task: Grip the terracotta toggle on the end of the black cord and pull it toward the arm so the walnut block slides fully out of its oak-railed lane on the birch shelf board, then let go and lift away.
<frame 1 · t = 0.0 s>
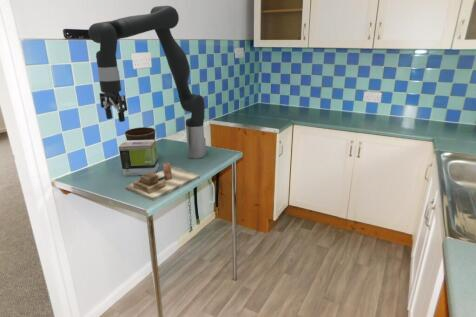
hand: (115, 120, 129), 29 cm above the table, fingers open, 8 cm apart
tea box: (141, 171, 154), on the table
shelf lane: (150, 189, 135), on the table
plant pot: (143, 160, 167), on the table
walnut block: (150, 186, 135), point 1 cm above the table, touching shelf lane
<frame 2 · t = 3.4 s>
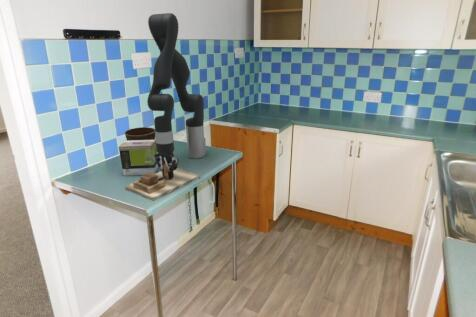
hand: (168, 177, 142), 2 cm above the table, fingers closed on walnut block, 3 cm apart
walnut block: (150, 186, 135), point 1 cm above the table, touching gripper, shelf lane
everything else where it was.
when the fingers open (2 cm above the table, at t = 6.8 s): walnut block stays where it is, resting on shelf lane.
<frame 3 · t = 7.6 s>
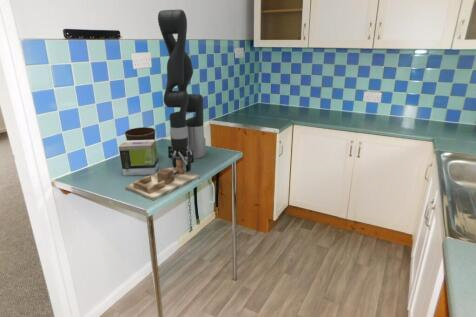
hand: (181, 169, 148), 3 cm above the table, fingers open, 8 cm apart
walnut block: (166, 181, 140), point 1 cm above the table, touching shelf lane
everything else where it was.
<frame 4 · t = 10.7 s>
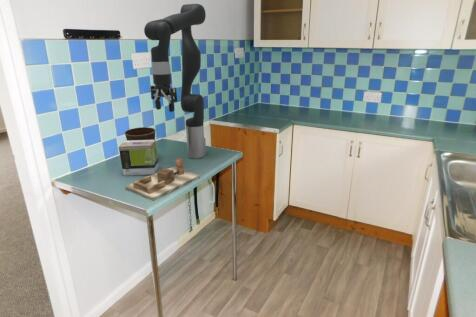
hand: (165, 110, 141), 30 cm above the table, fingers open, 8 cm apart
nothing on the table moved.
at the end: walnut block inside the target area (4.1 cm from its centre), point 1.2 cm above the table; walnut block tilted 0°; the gripper is holding nothing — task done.
